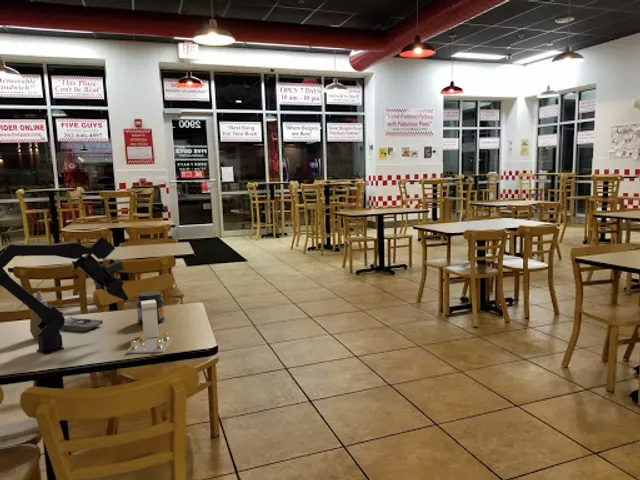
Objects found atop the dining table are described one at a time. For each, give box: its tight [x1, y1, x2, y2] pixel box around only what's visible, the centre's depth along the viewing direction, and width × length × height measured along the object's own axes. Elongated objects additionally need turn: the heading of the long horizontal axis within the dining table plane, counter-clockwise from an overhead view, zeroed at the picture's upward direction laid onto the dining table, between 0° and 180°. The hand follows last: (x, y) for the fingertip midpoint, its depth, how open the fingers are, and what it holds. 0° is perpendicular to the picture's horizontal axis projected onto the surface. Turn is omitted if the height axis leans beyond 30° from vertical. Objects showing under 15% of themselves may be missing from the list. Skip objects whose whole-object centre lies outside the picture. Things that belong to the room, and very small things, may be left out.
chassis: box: [126, 331, 173, 354], centre depth 175 cm, size 12×12×4 cm
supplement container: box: [136, 290, 166, 326], centre depth 204 cm, size 10×10×12 cm
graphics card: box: [60, 315, 103, 332], centre depth 198 cm, size 17×4×12 cm
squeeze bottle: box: [29, 290, 49, 341], centre depth 186 cm, size 8×8×18 cm
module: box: [141, 300, 160, 339], centre depth 186 cm, size 5×5×13 cm
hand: (123, 297), depth 188 cm, fingers open, 9 cm apart
